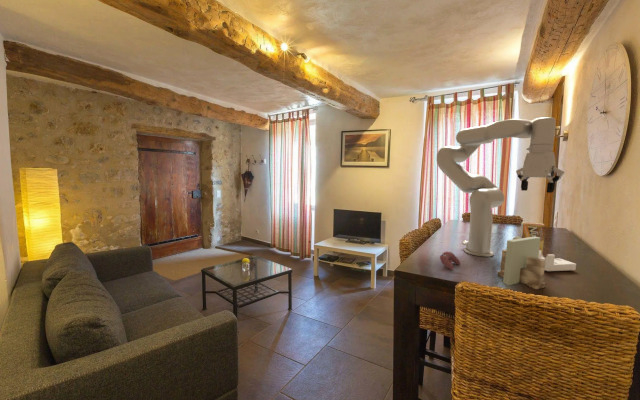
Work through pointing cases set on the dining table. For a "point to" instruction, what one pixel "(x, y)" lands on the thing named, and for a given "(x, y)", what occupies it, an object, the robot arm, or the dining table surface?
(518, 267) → the sage plate
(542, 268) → the birch stand
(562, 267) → the bracket
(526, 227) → the candy box
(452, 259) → the video game controller
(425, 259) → the dining table surface
